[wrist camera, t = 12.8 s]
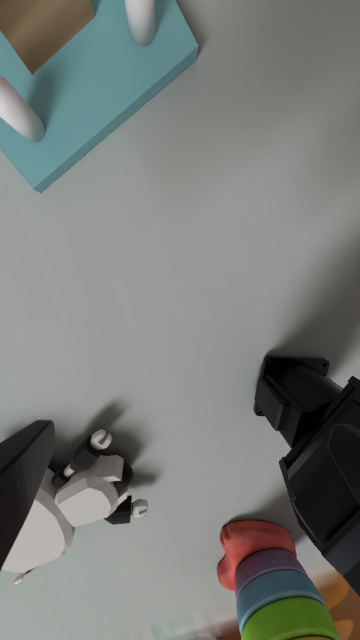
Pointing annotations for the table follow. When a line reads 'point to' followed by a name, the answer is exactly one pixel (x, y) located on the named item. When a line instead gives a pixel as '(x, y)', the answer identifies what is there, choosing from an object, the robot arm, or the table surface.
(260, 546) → the stacking bear
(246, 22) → the table surface
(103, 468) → the robot toy
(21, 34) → the walnut pillar
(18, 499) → the robot arm
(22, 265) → the table surface
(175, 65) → the peg plate
